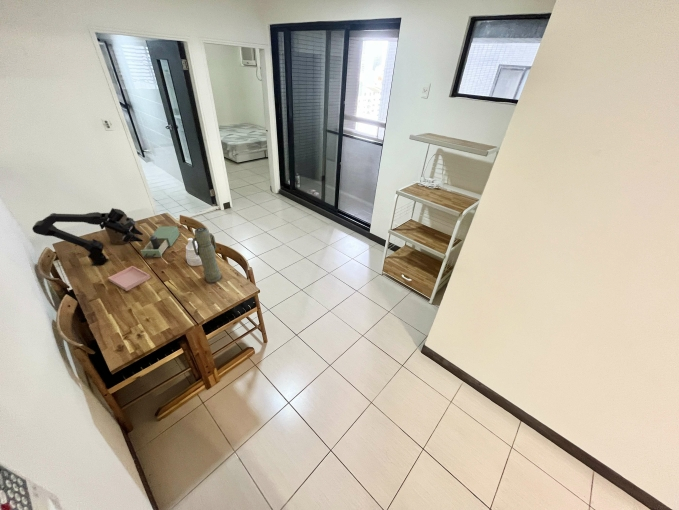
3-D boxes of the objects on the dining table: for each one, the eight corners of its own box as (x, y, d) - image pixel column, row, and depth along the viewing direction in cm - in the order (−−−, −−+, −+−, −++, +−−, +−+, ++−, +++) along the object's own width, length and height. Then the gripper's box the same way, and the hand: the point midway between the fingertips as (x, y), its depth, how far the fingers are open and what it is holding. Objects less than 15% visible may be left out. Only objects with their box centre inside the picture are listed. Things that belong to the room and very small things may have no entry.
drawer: (158, 260, 181) (156, 253, 178) (140, 260, 179) (137, 254, 176) (170, 243, 198) (168, 237, 195) (153, 244, 196) (151, 237, 193)
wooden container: (133, 232, 209) (122, 205, 197) (138, 240, 201) (126, 213, 188) (109, 238, 201) (96, 211, 188) (113, 247, 192) (99, 219, 180)
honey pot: (203, 266, 180) (197, 243, 170) (183, 265, 179) (176, 242, 169) (211, 255, 190) (205, 233, 180) (192, 254, 190) (186, 232, 180)
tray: (109, 280, 163) (107, 277, 162) (134, 268, 174) (132, 265, 172) (126, 291, 157) (125, 287, 155) (150, 277, 167) (149, 274, 166)
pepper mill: (152, 250, 188) (146, 236, 182) (155, 246, 192) (149, 233, 185) (159, 250, 188) (154, 236, 182) (162, 246, 192) (157, 233, 186)
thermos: (226, 276, 172) (215, 228, 153) (208, 286, 164) (194, 236, 145) (218, 271, 177) (206, 223, 157) (200, 279, 169) (186, 230, 149)
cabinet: (170, 246, 196) (167, 238, 192) (152, 246, 195) (148, 238, 191) (179, 234, 211) (177, 226, 207) (162, 234, 209) (159, 226, 205)
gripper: (122, 222, 163) (149, 234, 174) (124, 210, 177) (149, 222, 188) (111, 236, 165) (139, 248, 176) (114, 223, 178) (140, 234, 189)
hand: (142, 237), depth 182 cm, fingers open, 9 cm apart
